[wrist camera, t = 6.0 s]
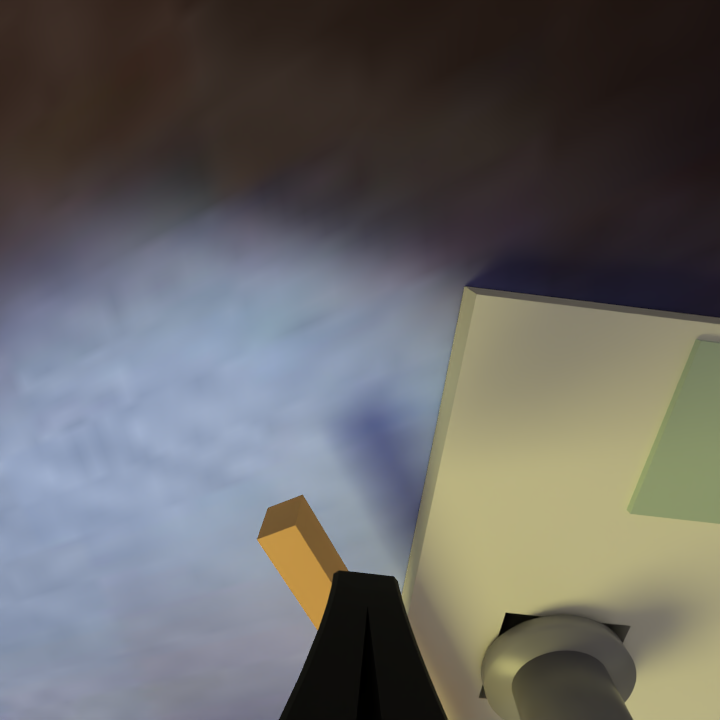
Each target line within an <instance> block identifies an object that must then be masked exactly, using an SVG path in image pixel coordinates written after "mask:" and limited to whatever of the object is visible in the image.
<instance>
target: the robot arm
mask: <svg viewBox="0 0 720 720" xmlns="http://www.w3.org/2000/svg"><path fill="white" fill-rule="evenodd" d="M279 720H448V718H447V716H446V713H445V711H444V709H443V706H442V704H441V702H440V699H439V697H438V695H437V692H436V690H435V687H434V685H433V683H432V680H431V678H430V675H429V673H428V670H427V668H426V665H425V663H424V660H423V658H422V655H421V652H420V650H419V647H418V645H417V642H416V639H415V636H414V633H413V630H412V628H411V625H410V622H409V619H408V616H407V613H406V610H405V606H404V603H403V600H402V596H401V592H400V589H399V585H398V581H397V580H396V579H395V577H394V576H385V575H376V574H368V573H359V572H350V571H341V570H339V571H337V572H335V573H334V574H333V579H332V585H331V590H330V594H329V598H328V601H327V605H326V608H325V611H324V614H323V617H322V620H321V623H320V626H319V629H318V631H317V634H316V636H315V639H314V641H313V644H312V646H311V649H310V651H309V654H308V656H307V659H306V661H305V664H304V666H303V669H302V671H301V673H300V676H299V678H298V680H297V682H296V684H295V687H294V689H293V691H292V693H291V695H290V697H289V699H288V702H287V704H286V706H285V708H284V710H283V712H282V714H281V717H280V719H279Z"/></svg>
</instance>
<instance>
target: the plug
mask: <svg viewBox="0 0 720 720" xmlns="http://www.w3.org/2000/svg"><path fill="white" fill-rule="evenodd" d="M481 677H482V682H483V686H484V690H485V694H486V698H487V700H488V703H489V705H490V706H491V708H492V709H493V710H494V712H495V713H496V714H497V715H499V716H500V717H501V718H502V719H504V720H633V718H632V716H631V714H630V712H629V711H628V709H627V707H626V705H625V702H626V701H627V699H628V698H629V697H630V695H631V693H632V691H633V689H634V686H635V683H636V667H635V664H634V661H633V659H632V657H631V656H630V654H629V652H628V651H627V649H626V647H625V646H624V644H623V642H622V641H621V639H620V638H619V636H618V635H617V634H616V633H615V632H614V631H612V630H611V629H610V628H609V627H607V626H605V625H604V624H602V623H600V622H597V621H595V620H592V619H589V618H585V617H580V616H574V615H552V616H545V617H543V616H534V615H524V614H515V613H505V616H504V619H503V623H502V626H501V629H500V632H499V635H498V638H497V639H496V640H495V641H494V642H493V643H492V645H491V646H490V647H489V648H488V650H487V652H486V653H485V656H484V658H483V660H482V665H481Z"/></svg>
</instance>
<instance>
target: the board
mask: <svg viewBox="0 0 720 720" xmlns="http://www.w3.org/2000/svg"><path fill="white" fill-rule="evenodd" d="M402 600H403V603H404V606H405V610H406V613H407V616H408V619H409V622H410V625H411V628H412V630H413V633H414V636H415V639H416V642H417V645H418V647H419V650H420V652H421V655H422V658H423V660H424V663H425V665H426V668H427V670H428V673H429V675H430V678H431V680H432V683H433V685H434V687H435V690H436V692H437V695H438V697H439V699H440V702H441V704H442V706H443V709H444V711H445V713H446V716H447V718H448V720H504V719H502V718H501V717H500V716H499V715H497V714H496V713H495V712H494V710H493V709H492V708H491V706H490V705H489V703H488V700H487V698H486V694H485V690H484V686H483V682H482V677H481V665H482V660H483V658H484V656H485V653H486V652H487V650H488V648H489V647H490V646H491V645H492V643H493V642H494V641H495V640H496V639H497V638H498V635H499V632H500V629H501V626H502V623H503V619H504V616H505V613H515V614H524V615H534V616H543V617H545V616H552V615H574V616H580V617H585V618H589V619H592V620H595V621H597V622H600V623H602V624H604V625H605V626H607V627H609V628H610V629H611V630H612V631H614V632H615V633H616V634H617V635H618V636H619V638H620V639H621V641H622V642H623V644H624V646H625V647H626V649H627V651H628V652H629V654H630V656H631V657H632V659H633V661H634V664H635V667H636V683H635V686H634V689H633V691H632V693H631V695H630V697H629V698H628V699H627V701H626V702H625V705H626V707H627V709H628V711H629V712H630V714H631V716H632V718H633V720H720V318H717V317H709V316H701V315H693V314H685V313H677V312H669V311H661V310H653V309H644V308H636V307H628V306H620V305H612V304H604V303H596V302H588V301H580V300H572V299H564V298H556V297H548V296H540V295H532V294H524V293H515V292H507V291H499V290H491V289H483V288H475V287H467V286H465V287H464V292H463V297H462V302H461V307H460V312H459V317H458V321H457V326H456V331H455V336H454V341H453V346H452V351H451V356H450V361H449V366H448V371H447V376H446V380H445V385H444V390H443V395H442V400H441V405H440V410H439V415H438V420H437V425H436V430H435V435H434V439H433V444H432V449H431V454H430V459H429V464H428V469H427V474H426V479H425V484H424V489H423V494H422V498H421V503H420V508H419V513H418V518H417V523H416V528H415V533H414V538H413V543H412V548H411V553H410V557H409V562H408V567H407V572H406V577H405V582H404V587H403V592H402Z"/></svg>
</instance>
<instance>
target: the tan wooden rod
mask: <svg viewBox="0 0 720 720" xmlns="http://www.w3.org/2000/svg"><path fill="white" fill-rule="evenodd" d="M257 540H258V542H259V543H260V545H261V546H262V548H263V549H264V551H265V552H266V554H267V555H268V557H269V558H270V560H271V561H272V563H273V564H274V566H275V567H276V569H277V570H278V572H279V573H280V575H281V576H282V578H283V579H284V581H285V582H286V584H287V585H288V587H289V588H290V590H291V591H292V593H293V594H294V596H295V597H296V599H297V600H298V602H299V603H300V605H301V606H302V608H303V609H304V611H305V612H306V614H307V615H308V617H309V618H310V620H311V621H312V623H313V624H314V626H315V627H316V629H317V630H318V629H319V626H320V623H321V620H322V617H323V614H324V611H325V608H326V605H327V601H328V598H329V594H330V590H331V585H332V579H333V574H334V573H335V572H337V571H339V570H341V571H348V569H347V568H346V566H345V564H344V563H343V561H342V559H341V558H340V556H339V554H338V553H337V551H336V549H335V548H334V546H333V544H332V543H331V541H330V539H329V538H328V536H327V534H326V533H325V531H324V529H323V528H322V526H321V524H320V523H319V521H318V519H317V518H316V516H315V514H314V513H313V511H312V509H311V508H310V506H309V504H308V503H307V501H306V499H305V498H304V496H303V495H301V496H298V497H295V498H293V499H290V500H288V501H285V502H282V503H280V504H277V505H274V506H272V507H269V508H268V509H267V512H266V515H265V518H264V521H263V524H262V527H261V529H260V532H259V535H258V538H257Z"/></svg>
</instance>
